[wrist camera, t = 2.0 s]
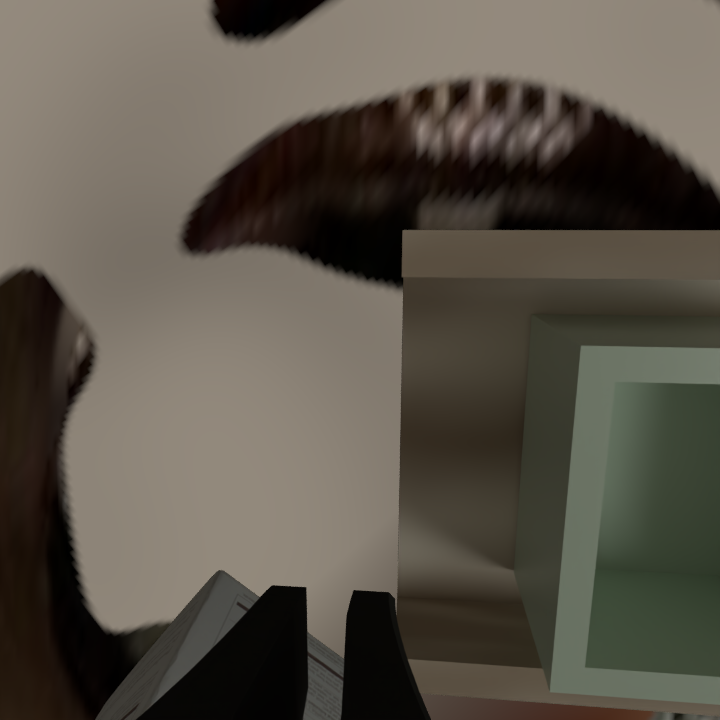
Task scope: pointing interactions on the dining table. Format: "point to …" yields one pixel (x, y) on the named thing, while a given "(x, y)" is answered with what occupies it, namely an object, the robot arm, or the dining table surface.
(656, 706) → the bay
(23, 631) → the dining table surface
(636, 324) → the box
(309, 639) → the supplement box
